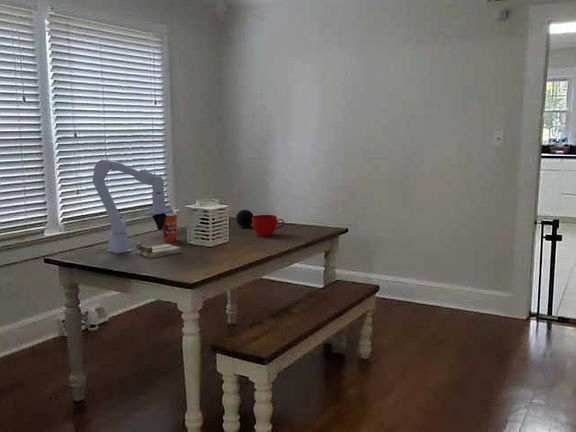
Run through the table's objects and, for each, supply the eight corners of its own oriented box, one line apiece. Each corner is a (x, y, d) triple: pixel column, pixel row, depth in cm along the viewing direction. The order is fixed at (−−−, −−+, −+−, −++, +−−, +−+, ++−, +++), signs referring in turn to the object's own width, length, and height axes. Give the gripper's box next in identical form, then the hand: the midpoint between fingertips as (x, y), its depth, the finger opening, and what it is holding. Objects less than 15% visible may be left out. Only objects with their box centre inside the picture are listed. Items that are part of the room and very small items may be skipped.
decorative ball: (251, 229, 335) (250, 211, 333) (234, 228, 337) (233, 211, 336) (256, 225, 345) (255, 208, 343) (239, 225, 347) (239, 208, 345)
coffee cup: (167, 243, 301) (165, 213, 298) (159, 240, 307) (157, 211, 305) (181, 240, 306) (180, 211, 304) (173, 238, 312) (172, 209, 310)
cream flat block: (135, 253, 279) (135, 248, 279) (165, 247, 290) (165, 243, 289) (151, 257, 269) (151, 253, 269) (181, 252, 280) (181, 247, 279)
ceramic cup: (282, 238, 308) (281, 219, 307) (250, 237, 311) (249, 218, 309) (286, 233, 321) (286, 214, 319) (255, 232, 324) (254, 214, 322)
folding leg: (135, 248, 278) (135, 243, 278) (140, 248, 280) (140, 242, 279) (148, 252, 270) (147, 246, 269) (152, 251, 271) (152, 246, 271)
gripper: (149, 203, 276) (151, 232, 278) (176, 200, 285) (177, 228, 288) (141, 202, 281) (143, 231, 283) (168, 199, 290) (169, 226, 293)
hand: (160, 229), depth 286 cm, fingers closed
